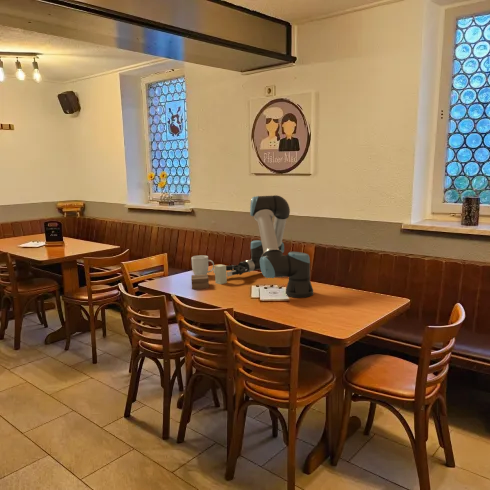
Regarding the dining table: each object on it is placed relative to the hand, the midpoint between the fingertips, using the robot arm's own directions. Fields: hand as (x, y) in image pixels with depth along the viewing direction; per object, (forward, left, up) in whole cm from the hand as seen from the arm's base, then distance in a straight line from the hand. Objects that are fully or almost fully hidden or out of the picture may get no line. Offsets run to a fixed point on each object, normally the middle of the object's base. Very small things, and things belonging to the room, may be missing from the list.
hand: (220, 272), depth 268 cm
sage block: (-1, 0, -7) cm, 7 cm away
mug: (+20, +11, -7) cm, 24 cm away
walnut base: (-6, +13, -6) cm, 15 cm away
